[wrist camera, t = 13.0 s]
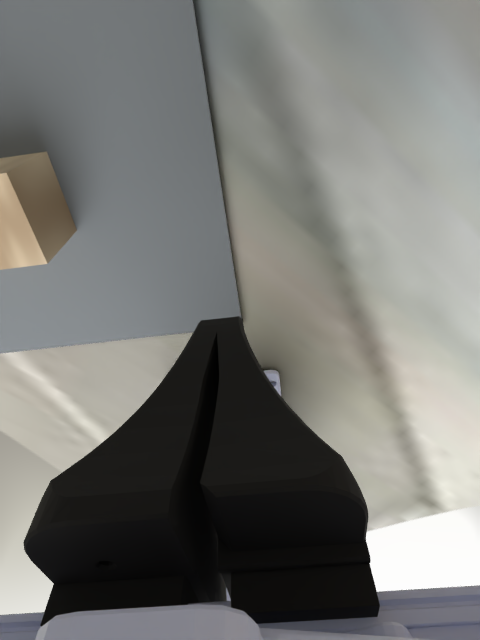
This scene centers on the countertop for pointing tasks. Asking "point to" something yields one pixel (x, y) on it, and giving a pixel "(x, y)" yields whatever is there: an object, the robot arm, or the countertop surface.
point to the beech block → (31, 212)
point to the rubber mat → (115, 172)
